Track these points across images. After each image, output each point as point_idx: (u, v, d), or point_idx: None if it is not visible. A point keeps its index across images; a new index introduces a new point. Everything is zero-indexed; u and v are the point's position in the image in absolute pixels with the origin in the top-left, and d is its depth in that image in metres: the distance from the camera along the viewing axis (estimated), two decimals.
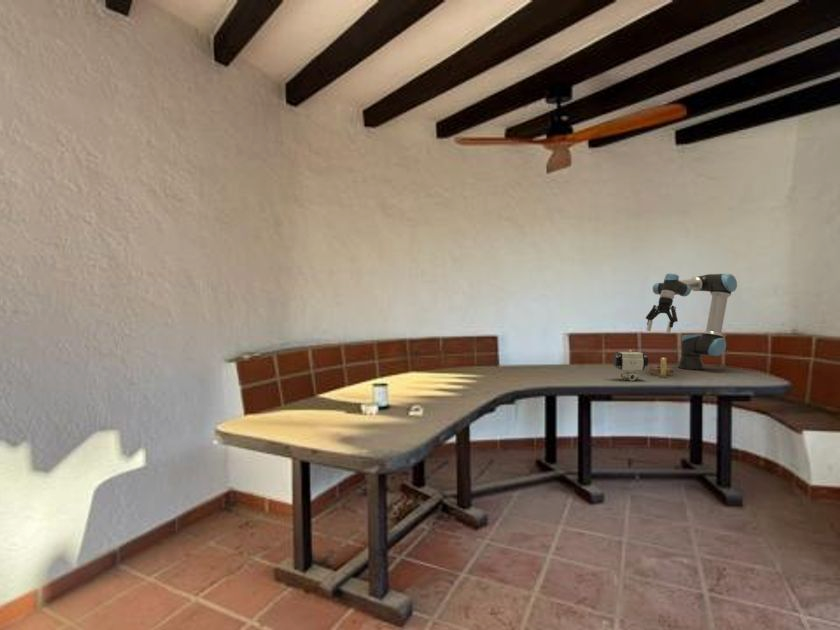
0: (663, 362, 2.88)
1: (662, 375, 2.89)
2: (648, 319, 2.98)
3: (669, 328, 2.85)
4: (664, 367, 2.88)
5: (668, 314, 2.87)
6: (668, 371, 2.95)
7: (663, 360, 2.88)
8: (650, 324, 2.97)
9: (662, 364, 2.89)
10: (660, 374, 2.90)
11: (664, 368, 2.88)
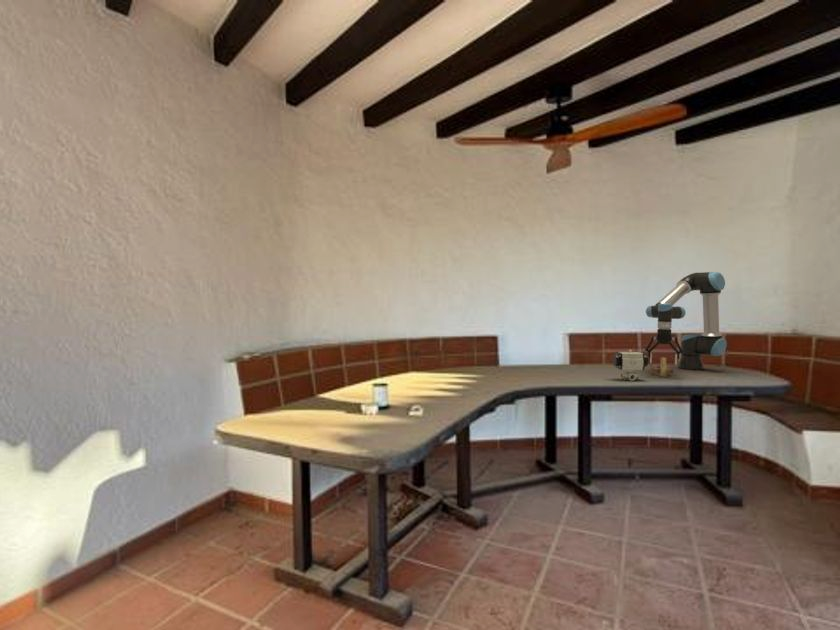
0: (663, 362, 2.88)
1: (662, 375, 2.89)
2: (649, 352, 2.91)
3: (676, 360, 2.87)
4: (664, 367, 2.88)
5: (673, 346, 2.86)
6: (668, 371, 2.95)
7: (663, 360, 2.88)
8: (651, 356, 2.92)
9: (662, 364, 2.89)
10: (660, 374, 2.90)
11: (664, 368, 2.88)
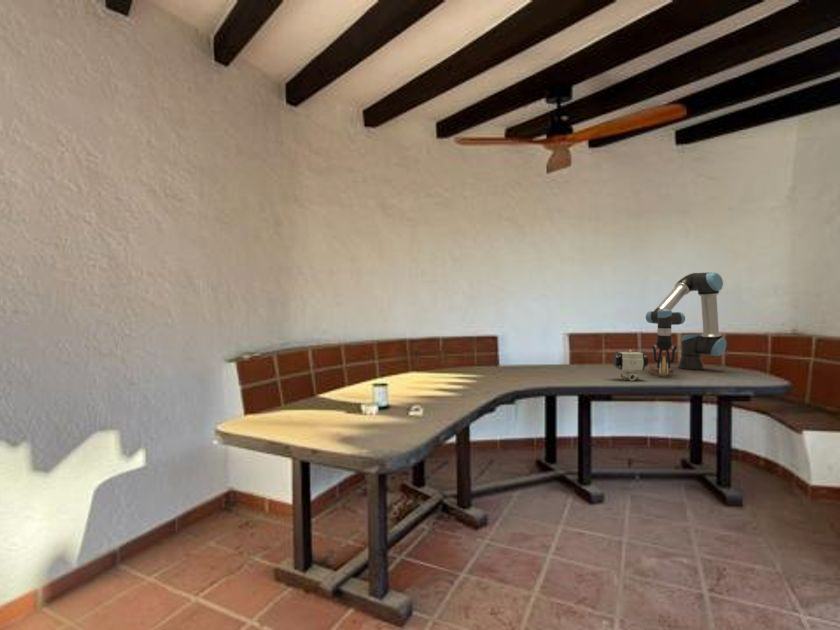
0: (663, 361, 2.88)
1: (662, 374, 2.89)
2: (659, 362, 2.90)
3: (667, 369, 2.89)
4: (664, 366, 2.88)
5: (668, 354, 2.88)
6: (668, 371, 2.95)
7: (663, 359, 2.88)
8: (660, 366, 2.90)
9: (662, 363, 2.89)
10: None
11: (664, 367, 2.88)
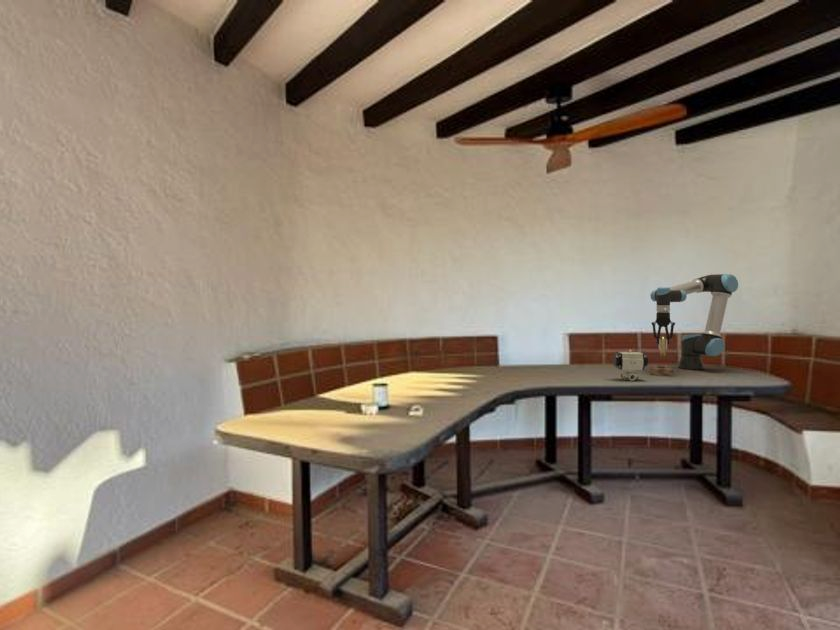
0: (662, 341, 2.99)
1: (662, 353, 2.99)
2: (658, 338, 3.00)
3: (666, 345, 2.99)
4: (663, 346, 2.99)
5: (667, 331, 2.98)
6: (668, 371, 2.95)
7: (663, 339, 2.98)
8: None
9: (661, 343, 2.99)
10: (660, 353, 3.00)
11: (664, 347, 2.99)
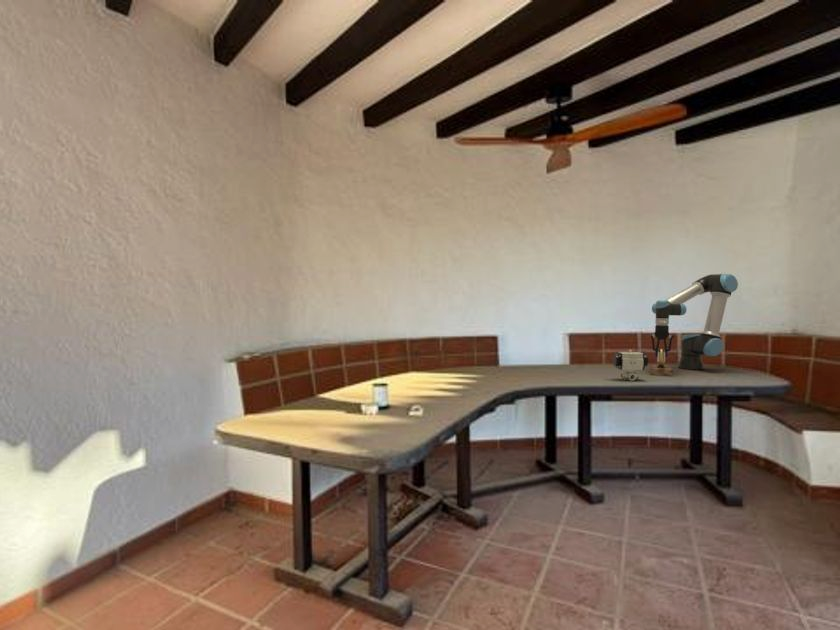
0: (661, 353, 3.02)
1: (660, 366, 3.02)
2: (657, 351, 3.03)
3: (664, 358, 3.02)
4: (662, 358, 3.02)
5: (665, 343, 3.01)
6: (668, 371, 2.95)
7: (661, 351, 3.02)
8: (658, 355, 3.04)
9: (660, 355, 3.02)
10: (658, 365, 3.04)
11: (662, 359, 3.02)
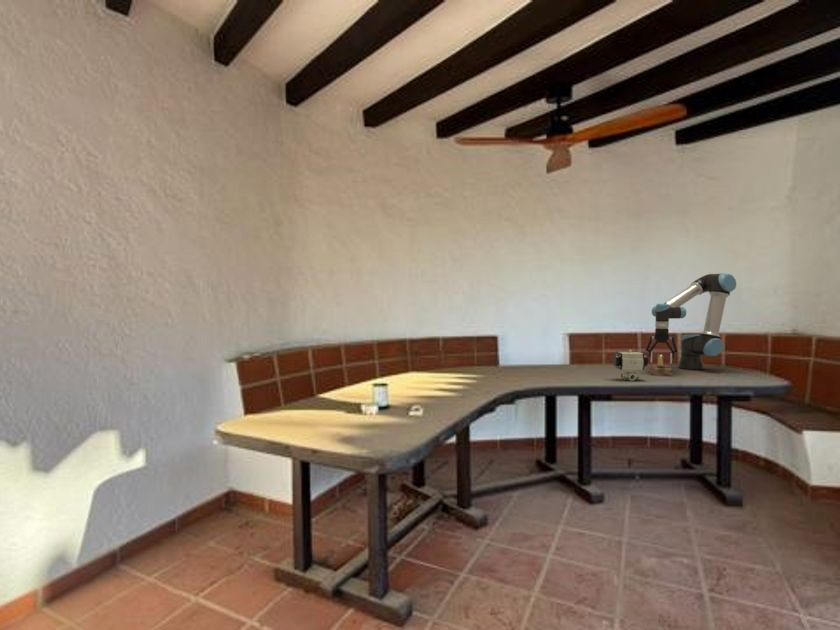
0: (660, 359, 3.02)
1: None
2: (650, 351, 3.04)
3: (671, 359, 3.01)
4: (661, 363, 3.02)
5: (669, 345, 3.00)
6: (668, 371, 2.95)
7: (660, 357, 3.02)
8: None
9: (659, 361, 3.02)
10: None
11: (661, 364, 3.02)
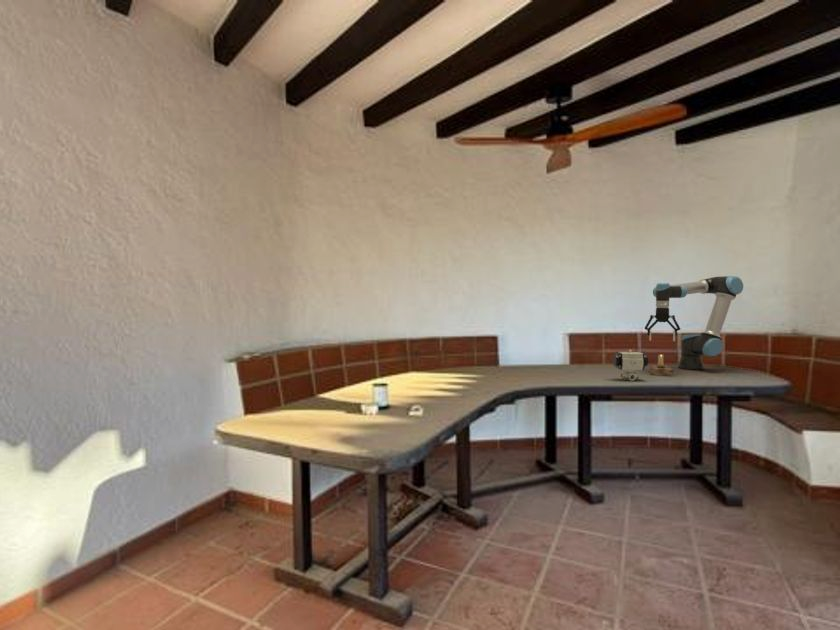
0: (660, 359, 3.02)
1: None
2: (648, 330, 3.05)
3: (674, 337, 3.01)
4: (661, 364, 3.02)
5: (671, 324, 3.00)
6: (668, 371, 2.95)
7: (660, 357, 3.02)
8: (650, 334, 3.06)
9: (659, 361, 3.02)
10: None
11: (661, 365, 3.02)
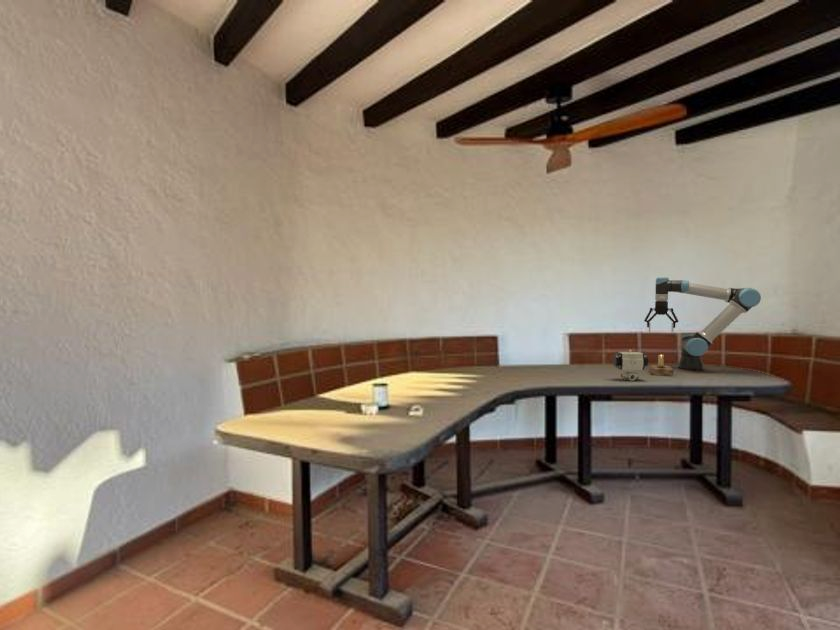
0: (660, 359, 3.02)
1: None
2: (648, 322, 3.19)
3: None
4: (661, 364, 3.02)
5: (669, 316, 3.14)
6: (668, 371, 2.95)
7: (661, 357, 3.02)
8: None
9: (659, 361, 3.02)
10: None
11: (661, 365, 3.02)
